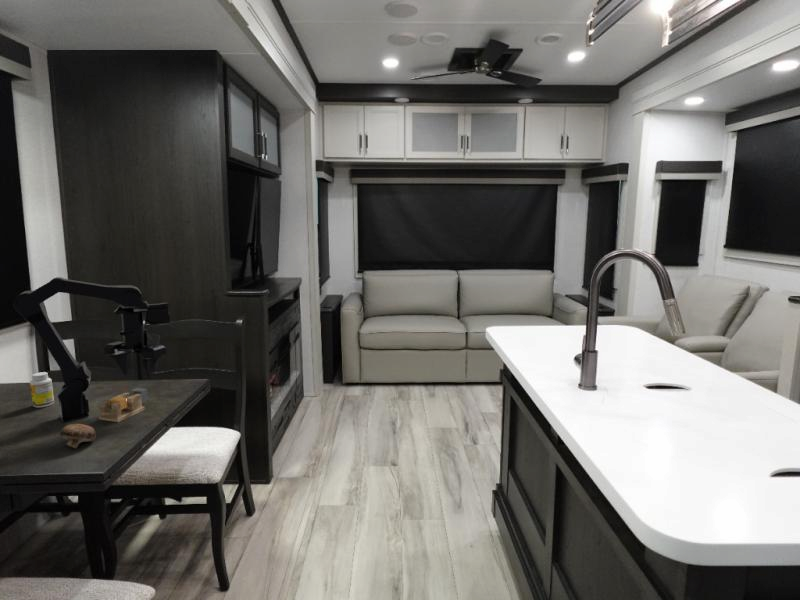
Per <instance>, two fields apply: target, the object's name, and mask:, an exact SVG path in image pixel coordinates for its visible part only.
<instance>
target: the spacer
mask: <svg viewBox="0 0 800 600" xmlns="http://www.w3.org/2000/svg"><path fill="white" fill-rule="evenodd" d="M108 402H109V405H110V404H112V403H120V405H121V410H122V409H124V408H127V398H123V397H116V396H114V397H112V398H109V399H108Z"/></svg>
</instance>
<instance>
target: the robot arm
mask: <svg viewBox="0 0 800 600" xmlns="http://www.w3.org/2000/svg"><path fill="white" fill-rule="evenodd" d="M59 293H64V294H70V295H77V296H83V297H90V298H91V297H92V298H98V299H104V300H108V301H111V302H113V303H116V304H119V305H118V307H117V308H116V309H115V310H114V311H113V315H121V324H122V331H119V336H123V341H114V342H110V343H107V344H105V346H104V347H103V351H104V352H103V353H104V355H107V357H108V358H110V359H111V360H112V361H113V363H114V364H115V365H116V367H117V368H118V370H119V371H120V373H121V374H122V375H123V376H127V375H128V369H129V368H128V357H129V354H130V353H134V354H135V353H137V354H141V356H142V358H141V361H142V362H141V363H142V365H143V369H144V372H145V376H146V378H147V379H150V378H152V376H153V372H154V369H155V367H156V363H157V361H158V360H159V359H160V358H162V357H163V356H165V355H167V347H166V346H165V345H164V344H160V338H161V336H160V335H158V334H154V333H152V334H151V333H149V330H148V328H145V326H144V316H145V323H146V324H148V325H149V326H150V327H151V326H164V325H170V324H171V316H170V311H169V305H168V302H161V303H150V304H149V303H148V300H145V298H144V297H143V296H142V292H141V290H140V289H139V288H138V287H137V286H135V285H131V284H129V285H127V284H125V285H122V284H121V285H120V284H119V285H107V284H106V285H105V284H101V283H99V284H98V283H94V282H93V283H92V282H86V281H79V280H73V279H67V278H64V277H60V276H58V277H57V276H56V277H54V278H52V279H50V281H48V282H46V283H45V284H43V285H42V286H39V287H38V288H36V289H34V290H25V291H23V292H21V293H19V294H18V295H17V296H16V297H14V300H13V302H12V306H13V308H14V310H16V312H18V314H19V315H20V316H21V317H22V318H23V319H24V320H25V321H27V322H28V323H29V324H30V325H31V326H33V328H34V330H35V331H36V333H37V334H38V335H39V337H40V339H41V341H42V342H43V343H44V345H45V347H46V349H47V350H48V352H49V353H50V355H51V357H53V359H54V361H55V362H56V364H57V366H58V367H59V369H60V373H61V377H62V380H63V383H64V385H62V386H61V388H60V390H59V392H58V395H57V399H58V404H59V405H58V406H59V416H58V417H59V418H60V420H61V421H62V422H63V423H65V422H70V421H73V420H79V419H84V418H87V417H89V416H90V415H89V413H90V407H89V399H88V398H87V397H86V394H85V393H84V392H86V391H87V390H88V389H89V386H90V384H91V383H90V382H91V378H92V377H91V375H92V371H91V370H89V368H88V367H87V364H86V362H85V361H82V362H80V363H79V361H77V360H76V359H75V358H74V357H73V355H72V353H71V352H70V350H69V349H68V347H67V345H66V344H65V342H64V340H63V338H62V337H61V335H60V334H59V332H58V331H57V329H56V327H55V326H54V325H53V323H52V321H51V320H50V318H49V314H48V310H47V307H46V305H45V304H46V303H45V302H46V300H48V299H50V298H52V297H53V296H55V295H57V294H59ZM125 306H126V307H125ZM135 307H136V308H138V309H135ZM144 314H145V315H144Z"/></svg>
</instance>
